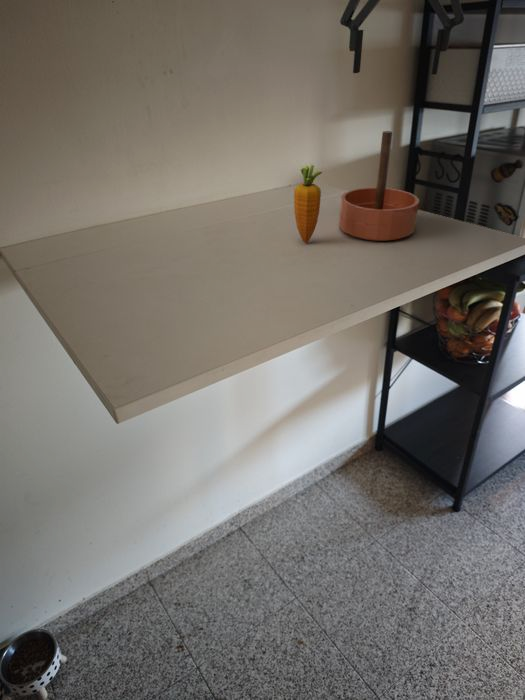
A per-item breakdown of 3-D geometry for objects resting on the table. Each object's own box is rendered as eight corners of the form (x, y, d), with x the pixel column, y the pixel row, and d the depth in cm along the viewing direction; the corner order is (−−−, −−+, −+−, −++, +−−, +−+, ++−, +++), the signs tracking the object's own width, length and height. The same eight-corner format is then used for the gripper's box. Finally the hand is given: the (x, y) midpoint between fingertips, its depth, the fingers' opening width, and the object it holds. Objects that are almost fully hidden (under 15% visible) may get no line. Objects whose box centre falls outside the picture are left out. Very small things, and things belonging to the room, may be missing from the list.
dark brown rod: (391, 223, 106) (404, 129, 95) (388, 232, 101) (400, 135, 91) (365, 220, 107) (375, 128, 97) (360, 229, 103) (370, 133, 93)
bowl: (417, 220, 108) (422, 190, 105) (409, 246, 96) (415, 213, 93) (347, 214, 113) (349, 184, 109) (331, 237, 101) (333, 206, 97)
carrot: (306, 236, 101) (308, 159, 93) (323, 243, 98) (328, 164, 90) (287, 242, 99) (289, 164, 91) (305, 249, 96) (308, 169, 87)
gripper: (499, -86, 76) (469, 72, 88) (338, -75, 83) (330, 70, 95) (501, -95, 70) (468, 76, 82) (328, -82, 77) (321, 73, 89)
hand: (394, 73), depth 89 cm, fingers open, 13 cm apart
